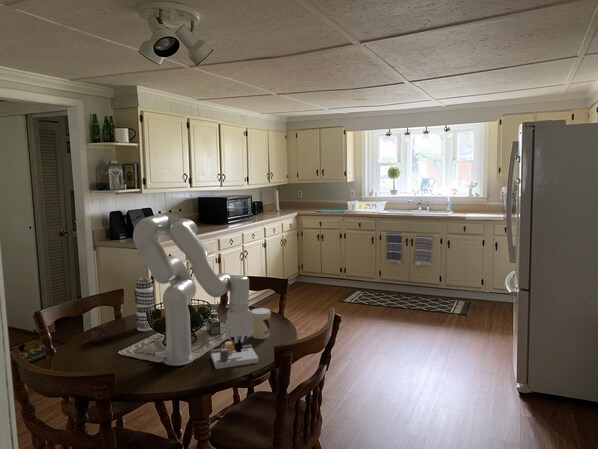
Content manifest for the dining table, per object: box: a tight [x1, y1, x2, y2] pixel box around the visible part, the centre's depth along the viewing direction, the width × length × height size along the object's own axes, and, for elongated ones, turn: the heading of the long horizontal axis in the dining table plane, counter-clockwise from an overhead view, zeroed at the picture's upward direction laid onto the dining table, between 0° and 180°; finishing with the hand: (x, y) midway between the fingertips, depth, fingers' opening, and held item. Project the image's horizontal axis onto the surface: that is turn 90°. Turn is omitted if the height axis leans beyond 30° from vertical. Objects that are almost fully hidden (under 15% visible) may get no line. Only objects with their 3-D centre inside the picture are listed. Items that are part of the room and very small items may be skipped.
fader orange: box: [224, 341, 234, 354], centre depth 188 cm, size 2×3×4 cm
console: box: [210, 344, 259, 370], centre depth 186 cm, size 17×12×3 cm
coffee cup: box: [251, 307, 272, 340], centre depth 212 cm, size 9×9×12 cm
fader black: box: [219, 347, 228, 362], centre depth 181 cm, size 2×3×4 cm
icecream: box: [89, 324, 109, 343], centre depth 207 cm, size 7×7×15 cm
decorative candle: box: [133, 276, 155, 332], centre depth 222 cm, size 9×9×25 cm
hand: (238, 351), depth 183 cm, fingers closed
